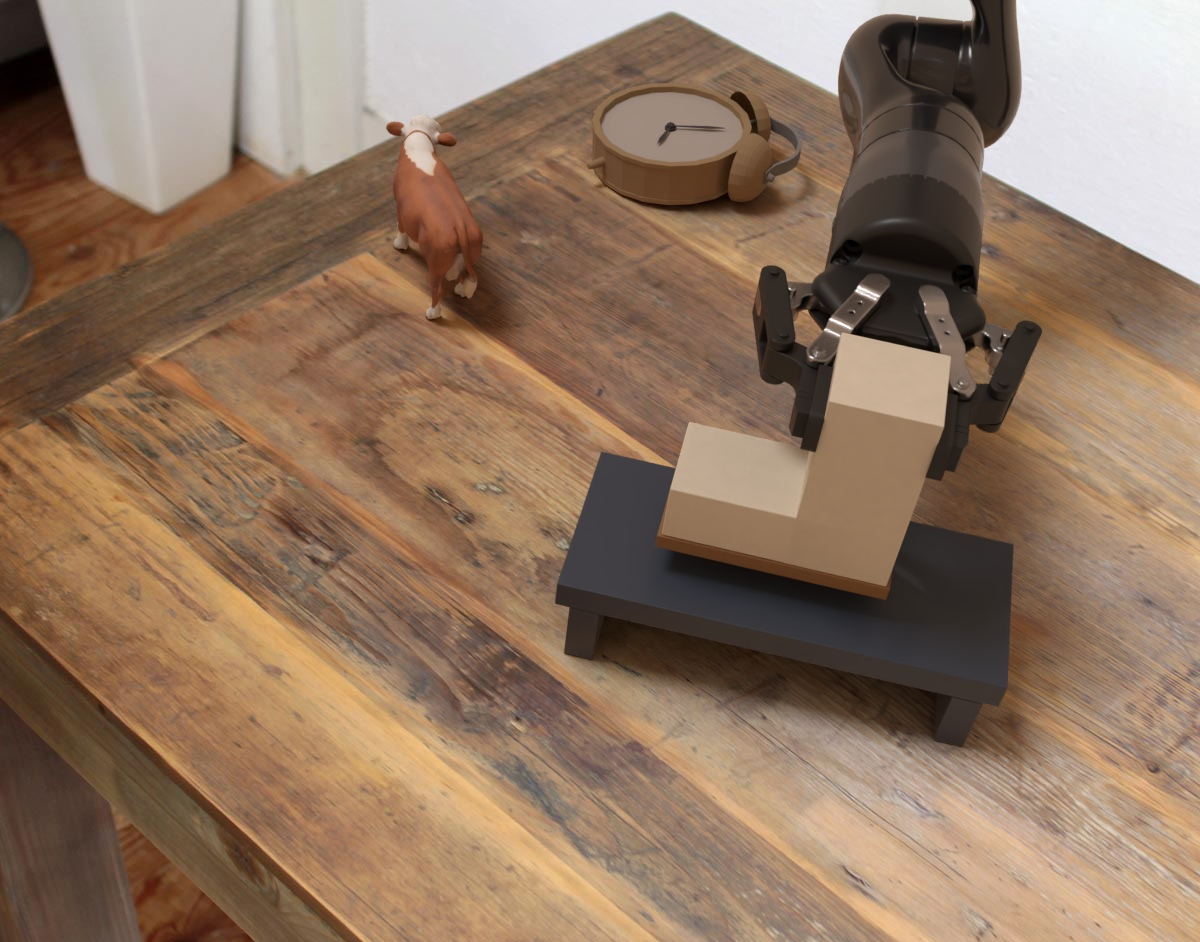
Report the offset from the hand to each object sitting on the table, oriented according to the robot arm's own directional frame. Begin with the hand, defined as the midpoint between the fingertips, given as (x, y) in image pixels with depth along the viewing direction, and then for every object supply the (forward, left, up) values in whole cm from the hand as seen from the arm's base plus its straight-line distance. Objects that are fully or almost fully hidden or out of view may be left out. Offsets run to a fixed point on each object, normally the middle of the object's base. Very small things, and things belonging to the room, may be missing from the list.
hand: (875, 450), depth 65 cm
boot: (+3, -3, -9) cm, 10 cm away
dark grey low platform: (+2, -3, -15) cm, 16 cm away
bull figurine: (+28, -27, -16) cm, 42 cm away
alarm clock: (+14, -45, -16) cm, 49 cm away
